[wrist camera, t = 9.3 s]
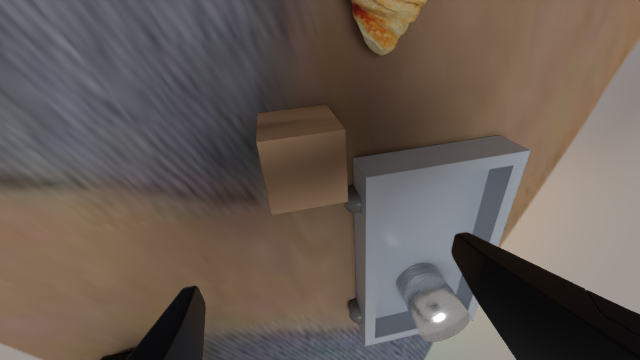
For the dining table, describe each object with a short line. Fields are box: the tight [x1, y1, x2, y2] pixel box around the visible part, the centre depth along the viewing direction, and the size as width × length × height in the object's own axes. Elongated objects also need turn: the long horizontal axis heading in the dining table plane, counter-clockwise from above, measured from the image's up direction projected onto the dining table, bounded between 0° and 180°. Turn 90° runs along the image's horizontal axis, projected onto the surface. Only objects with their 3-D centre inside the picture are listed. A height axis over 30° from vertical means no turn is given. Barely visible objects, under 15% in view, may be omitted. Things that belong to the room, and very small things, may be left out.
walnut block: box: [256, 104, 348, 215], centre depth 17 cm, size 4×4×5 cm
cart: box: [345, 135, 531, 346], centre depth 25 cm, size 20×14×3 cm
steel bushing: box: [396, 262, 470, 342], centre depth 25 cm, size 4×4×5 cm
